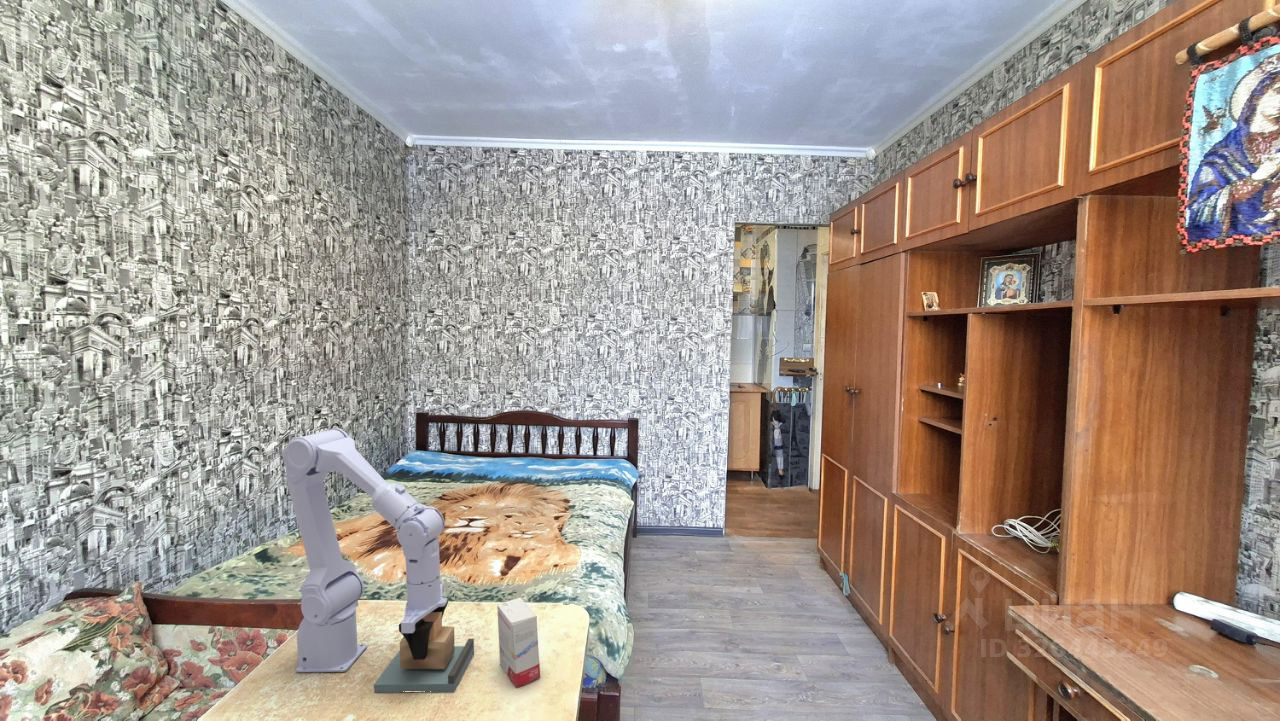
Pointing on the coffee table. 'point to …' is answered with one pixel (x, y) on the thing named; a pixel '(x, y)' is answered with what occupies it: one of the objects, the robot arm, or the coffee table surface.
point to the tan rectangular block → (430, 652)
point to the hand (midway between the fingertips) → (426, 649)
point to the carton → (437, 624)
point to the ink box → (518, 641)
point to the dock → (426, 674)
